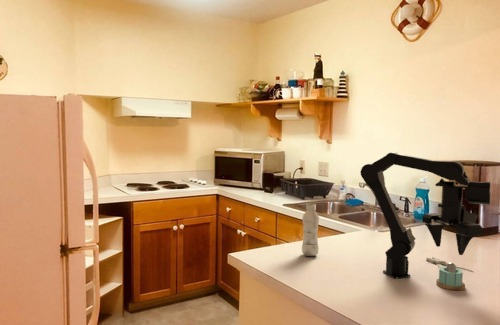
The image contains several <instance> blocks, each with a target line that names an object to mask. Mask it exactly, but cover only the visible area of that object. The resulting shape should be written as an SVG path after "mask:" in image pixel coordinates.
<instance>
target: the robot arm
mask: <svg viewBox="0 0 500 325" xmlns="http://www.w3.org/2000/svg"><path fill="white" fill-rule="evenodd" d="M394 165H395V166H400V167H404V168H408V169H409V168H410V169H413V170H418V171H419V170H420V171H424V172H427V173H428V172H429V173H431V174H433V175H436V176H438V177H440V180H438V182H436V183H435V184H434V185H435V187H441V203H438V204H437V207H438V208H440V213H437V212H434V213H432V212H431V213H430V212H429V213H424V214H423V216H422V220H421V221H422V223H423V224H424V225H425V226H426V227H427V229H428V231H429V233H430V235H431V237H432V240H433V241H434V242H433V243H434V244H435V247H437V248H439V247H441V244H442V235H443V234H442V233H443V229H444V228H445V227H446V226H448V227H451V228H453V229H454V228H455V230H456V231H457V232H456V233H455V240H456V246H457V252H458V255H459V256H463V255H464V253H465V251H466V249H467V247H468V246H469V243H470V241H471V240H472V239H473V238H475V237H478V236H480V235H481V236H482V235H483V226H482V225H481V224H477V223H476V221H477V218H478V214H475V213H473V212H471V211H469V210H466V209H467V207H466V205H463V194H464V200H465V201H468V204H476V205H485V206H491V199H492V196H491V195H492V192H491V182H490V181H473V180H470V177H468V175H467V174H466V173H465V167H464V165H463V164H462V163H461V162H460V161H457V160H437V159H436V160H432V159H429V158H423V157H418V156H412V155H407V154H402V153H398V152H388V153H387V154H386V155H385V156H382V157H381V158H380V159H378V160H376V161H374V162H372V163H367V164H364V165H363V166H362V167H361V169H360V176H361V178H362V180H363V181H364V183H365V184H366V185H367V187H368V188H369V189H371V190H372V192H373V194H374V197H375V199H376V201H377V204H378V206H379V209H380V210H381V213H382V215H383V218H384V219H385V222H386V224H387V227H388V229H389V236H390V241H391V246H390V247H389V248H388V249H387V250H386V251H385V257H386V258H385V259H386V260H385V261H386V262H385V269H383V270H382V273H384V274H386V275H388V276H390V277H391V278H393V279H401V278H402V279H403V278H410V277H412V276H411V274H409V261H410V260H409V257H408V256H407V255H409V254H410V252H412V250H413V249H414V248H415V245H416V242H415V241H416V238H415V236H414V235H413V232H412V228H411V227H409V228H406V227H405V226H404V224H403V223H402V221H401V219H400V217H399V215H398V212H397V210H396V207H395V206H394V203H393V200H392V198H391V197H390V194H389V192H388V189H387V187H386V183H385V180H386V179H385V176H384V175H385V174H384V172H385V171H387V170H388V169H390V168H391V167H392V166H394ZM456 183H458V184H456ZM463 189H464V190H463ZM463 192H464V193H463Z"/></svg>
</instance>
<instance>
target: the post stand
mask: <svg viewBox="0 0 500 325" xmlns="http://www.w3.org/2000/svg"><path fill="white" fill-rule="evenodd" d="M447 263H448V264H447V266H446V267H447V270H446V271H448V272H456V266H455V265H456V264H455V263H453V262H447ZM435 282H436V285H437V286H438V287H439V288H442V289H444V290H447V289H448V290H449V291H453V292H457V291H458V292H459V291H464V290H465V289H466V284H465V283H464V282H463V281H462V286H458V287H455V286H454V287H453V286H447V285H444V284H442V283H440V282H439V278H437V279H436V281H435Z"/></svg>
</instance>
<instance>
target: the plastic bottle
mask: <svg viewBox="0 0 500 325" xmlns="http://www.w3.org/2000/svg"><path fill="white" fill-rule="evenodd" d="M305 206H306V208H305V210H306V211H305V212H304V214H303V215H302V228H303V238H302V244H301V252H302V254H303V255H304V256H307V257H315V256H318V254H319V249H320V248H319V242H318V229H319V224H320V216H319V214H318V213H317V211H316V210H317V207H316V206H317V205H316V204H314V203H306V205H305Z"/></svg>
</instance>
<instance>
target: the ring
mask: <svg viewBox="0 0 500 325" xmlns="http://www.w3.org/2000/svg"><path fill="white" fill-rule="evenodd" d="M438 269H439V268H438ZM446 270H447V266H446V267H445V266H443V267H440V269H439V270H438V272H439V274H438V279H439V282H440V283H442V284H444V285H447V286H453V287H454V286H455V287H458V286H462V282H463V272H464V271H463V269H461V268H456V272H448V271H446Z"/></svg>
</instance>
